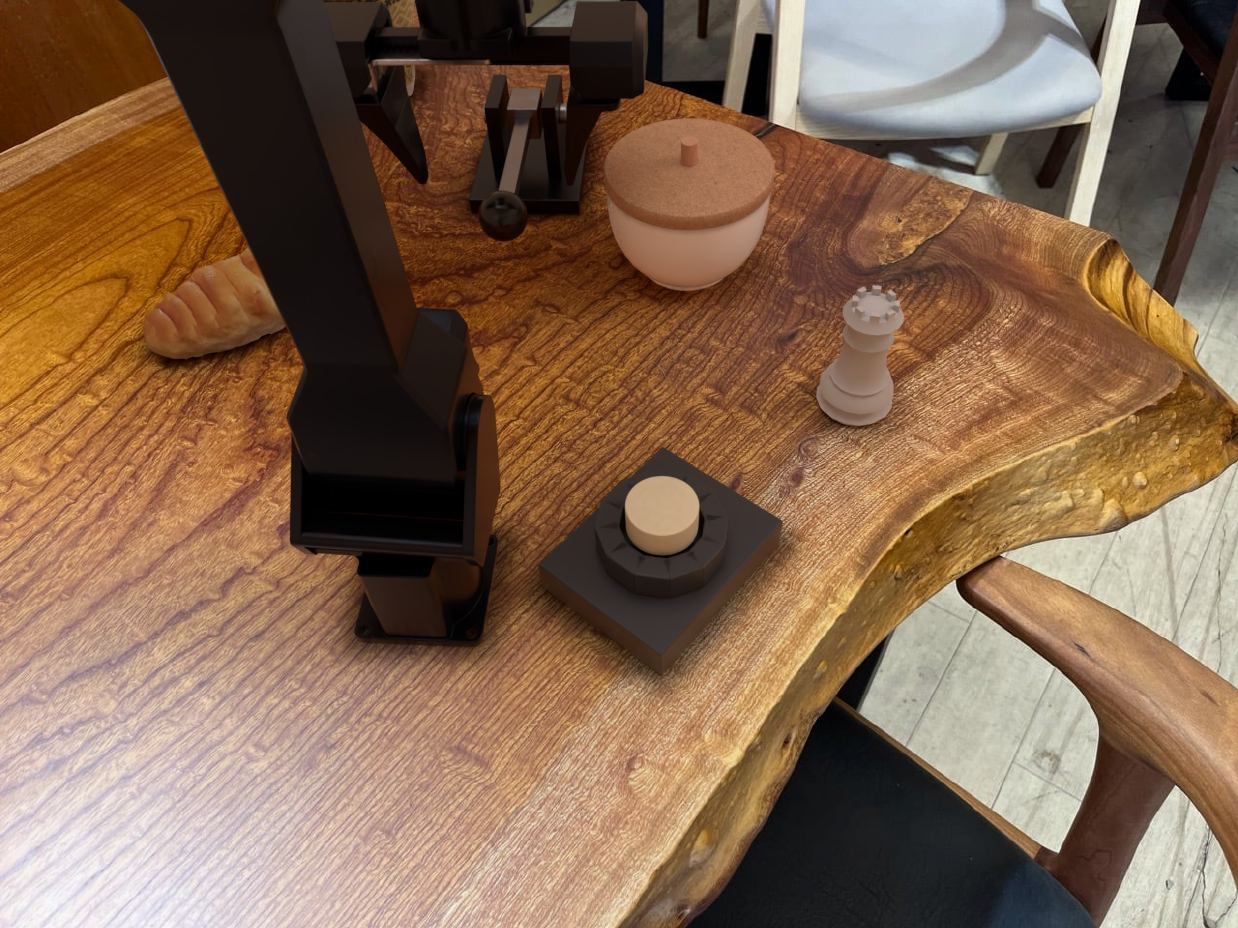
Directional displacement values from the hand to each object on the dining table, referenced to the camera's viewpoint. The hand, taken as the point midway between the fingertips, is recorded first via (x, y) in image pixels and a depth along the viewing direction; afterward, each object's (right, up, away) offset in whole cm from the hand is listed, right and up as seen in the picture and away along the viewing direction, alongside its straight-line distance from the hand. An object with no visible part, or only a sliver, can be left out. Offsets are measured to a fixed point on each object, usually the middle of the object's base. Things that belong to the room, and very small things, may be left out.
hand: (497, 181), depth 60 cm
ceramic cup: (-14, +15, +23) cm, 31 cm away
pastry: (-18, -8, +4) cm, 20 cm away
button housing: (+10, -23, -9) cm, 27 cm away
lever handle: (+1, +2, +7) cm, 7 cm away
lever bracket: (+1, +5, +14) cm, 14 cm away
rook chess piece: (+22, -14, -2) cm, 26 cm away
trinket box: (+12, -4, +6) cm, 14 cm away
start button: (+10, -21, -12) cm, 26 cm away
